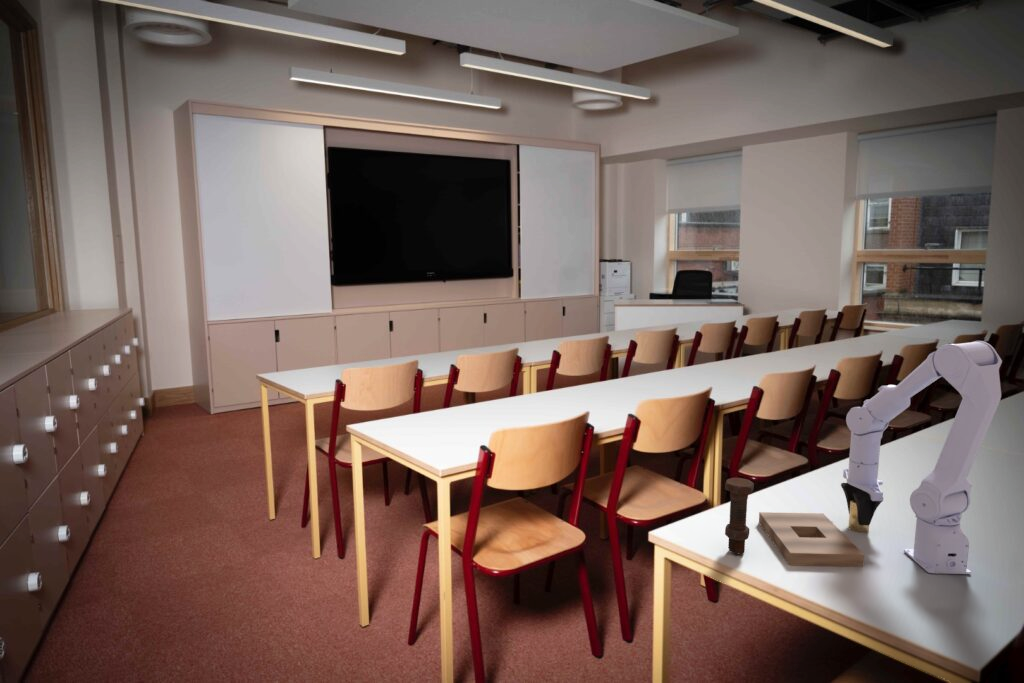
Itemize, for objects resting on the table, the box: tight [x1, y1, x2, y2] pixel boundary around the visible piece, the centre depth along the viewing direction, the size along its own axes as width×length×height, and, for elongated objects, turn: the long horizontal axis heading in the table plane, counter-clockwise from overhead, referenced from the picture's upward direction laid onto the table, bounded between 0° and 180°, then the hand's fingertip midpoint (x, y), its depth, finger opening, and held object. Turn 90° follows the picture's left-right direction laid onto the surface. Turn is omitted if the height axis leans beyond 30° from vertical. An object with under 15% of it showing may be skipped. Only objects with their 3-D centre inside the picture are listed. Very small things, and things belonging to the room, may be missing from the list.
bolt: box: [724, 477, 755, 556], centre depth 138 cm, size 6×5×15 cm
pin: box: [848, 499, 870, 533], centre depth 150 cm, size 4×4×6 cm
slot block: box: [758, 511, 865, 568], centre depth 143 cm, size 20×14×2 cm
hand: (859, 520), depth 150 cm, fingers closed on pin, 4 cm apart
